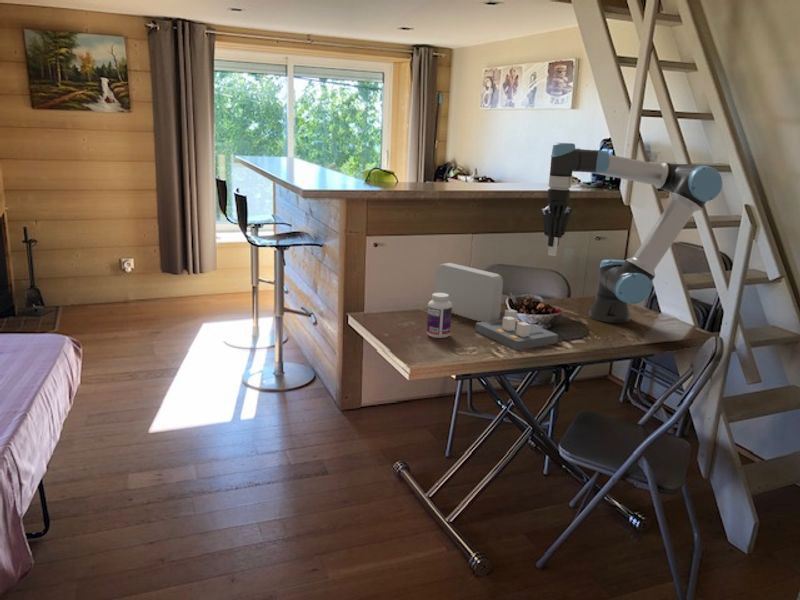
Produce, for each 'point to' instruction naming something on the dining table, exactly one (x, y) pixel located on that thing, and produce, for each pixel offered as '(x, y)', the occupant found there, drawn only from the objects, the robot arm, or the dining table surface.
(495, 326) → the switch board
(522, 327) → the switch
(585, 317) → the dining table surface
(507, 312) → the switch
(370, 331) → the dining table surface
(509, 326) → the switch middle
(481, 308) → the rounded white slab
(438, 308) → the pill bottle
